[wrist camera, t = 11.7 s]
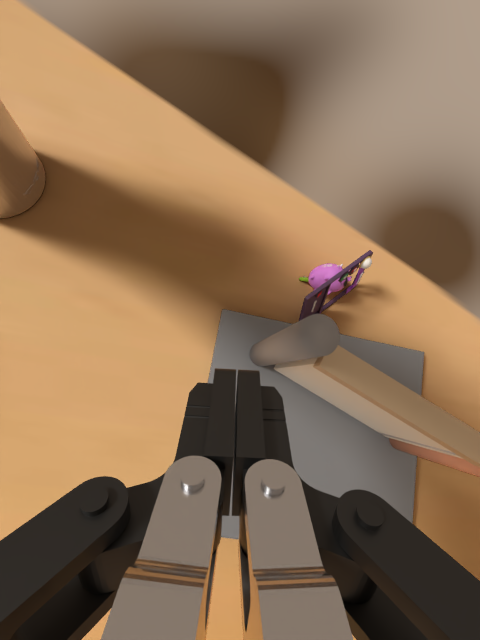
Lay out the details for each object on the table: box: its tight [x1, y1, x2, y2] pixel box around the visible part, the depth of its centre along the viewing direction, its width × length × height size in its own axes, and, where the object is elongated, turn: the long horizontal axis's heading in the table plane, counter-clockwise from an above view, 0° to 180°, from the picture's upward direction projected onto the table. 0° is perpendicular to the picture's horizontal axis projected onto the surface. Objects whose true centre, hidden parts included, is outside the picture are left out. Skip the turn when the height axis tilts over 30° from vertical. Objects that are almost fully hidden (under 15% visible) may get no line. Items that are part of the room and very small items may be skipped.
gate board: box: [208, 309, 480, 539], centre depth 28 cm, size 24×22×17 cm
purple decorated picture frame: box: [299, 250, 373, 321], centre depth 37 cm, size 7×5×9 cm
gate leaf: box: [274, 345, 480, 467], centre depth 29 cm, size 14×2×13 cm, turn 60°
